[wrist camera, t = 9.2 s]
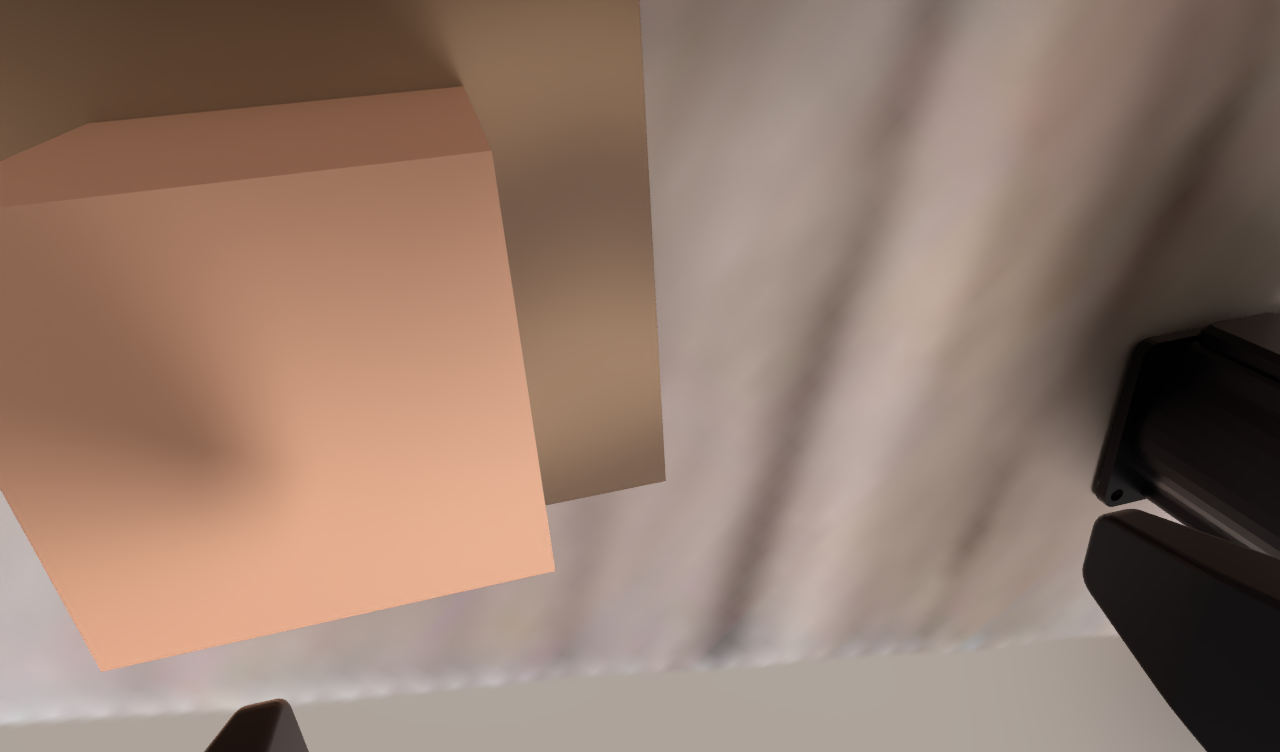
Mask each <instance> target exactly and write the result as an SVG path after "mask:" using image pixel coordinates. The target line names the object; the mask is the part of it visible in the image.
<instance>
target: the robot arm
mask: <svg viewBox="0 0 1280 752" xmlns="http://www.w3.org/2000/svg"><path fill="white" fill-rule="evenodd" d="M1096 496H1097V498H1098V499H1099V500H1100V501H1101V502H1103V503H1104V504H1105V505H1107V506H1109V507H1114V506H1118V505H1122V504H1126V503H1131V502H1135V501H1139V500H1143V499H1148V500H1149V501H1151V502H1152V503H1154V504H1155V505H1157V506H1158V507H1159V508H1161V509H1162V510H1164V511H1165V512H1166V513H1168V514H1169V515H1171V516H1172V517H1174V518H1175V519H1176V520H1178V521H1179V522H1181V523H1182V524H1183V525H1181V524H1178V523H1175V522H1172V521H1170V520H1167V519H1164V518H1161V517H1158V516H1155V515H1152V514H1149V513H1147V512H1144V511H1141V510H1137V509H1125V510H1121V511H1116V512H1112V513H1107V514H1103V515H1101V516H1099V518H1098V519H1097V520H1096V521H1095V523H1094V525H1093V529H1092V532H1091V536H1090V540H1089V544H1088V548H1087V552H1086V556H1085V560H1084V564H1083V569H1082V571H1083V578H1084V582H1085V584H1086V587H1087V589H1088V590H1089V592H1090V593H1091V595H1092V596H1093V598H1094V599H1095V601H1096V602H1097V604H1098V605H1099V606H1100V608H1101V609H1102V611H1103V612H1104V614H1105V615H1106V616H1107V618H1108V619H1109V621H1110V622H1111V624H1112V625H1113V627H1114V628H1115V629H1116V631H1117V632H1118V634H1119V635H1120V637H1121V638H1122V639H1123V641H1124V642H1125V644H1126V645H1127V647H1128V648H1129V649H1130V651H1131V652H1132V654H1133V655H1134V656H1135V658H1136V660H1137V661H1138V662H1139V664H1140V665H1141V667H1142V668H1143V670H1144V671H1145V673H1146V674H1147V675H1148V677H1149V678H1150V679H1151V681H1152V683H1153V684H1154V685H1155V687H1156V688H1157V690H1158V691H1159V692H1160V694H1161V695H1162V696H1163V698H1164V699H1165V700H1166V702H1167V703H1168V705H1169V706H1170V707H1171V709H1172V710H1173V711H1174V712H1175V714H1176V715H1177V716H1178V717H1179V719H1180V720H1181V721H1182V722H1183V723H1184V725H1185V726H1186V727H1187V729H1188V730H1189V731H1190V732H1191V733H1192V734H1193V736H1194V737H1195V738H1196V739H1197V740H1198V742H1199V743H1200V744H1201V745H1202V746H1203V748H1204V749H1205V750H1206V751H1207V752H1280V313H1276V314H1272V313H1264V314H1259V315H1254V316H1248V317H1243V318H1238V319H1233V320H1227V321H1222V322H1217V323H1212V324H1209V325H1207V326H1205V327H1203V328H1198V329H1192V330H1187V331H1182V332H1177V333H1172V334H1166V335H1161V336H1156V337H1151V338H1147V339H1144V340H1143V341H1141V342H1140V343H1139V344H1138V345H1137V346H1136V348H1135V349H1134V351H1133V354H1132V357H1131V361H1130V365H1129V369H1128V372H1127V376H1126V380H1125V384H1124V388H1123V392H1122V395H1121V399H1120V403H1119V407H1118V411H1117V415H1116V418H1115V422H1114V426H1113V430H1112V434H1111V438H1110V441H1109V445H1108V449H1107V453H1106V457H1105V461H1104V464H1103V468H1102V472H1101V476H1100V480H1099V484H1098V487H1097V491H1096ZM1184 525H1185V526H1184ZM204 752H309V751H308V749H307V746H306V743H305V741H304V739H303V736H302V733H301V731H300V728H299V726H298V723H297V720H296V718H295V715H294V713H293V710H292V708H291V706H290V704H289V703H288V702H287V701H286V700H284V699H274V700H270V701H265V702H261V703H256V704H252V705H247V706H244V707H242V708H240V709H239V710H238V711H237V712H236V713H235V714H234V715H233V716H232V717H231V718H230V720H229V721H228V722H227V723H226V725H225V726H224V727H223V728H222V730H221V731H220V732H219V734H218V735H217V736H216V738H215V739H214V740H213V741H212V743H211V744H210V745H209V746H208V748H207V749H206V750H205V751H204Z"/></svg>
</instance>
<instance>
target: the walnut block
mask: <svg viewBox="0 0 1280 752" xmlns="http://www.w3.org/2000/svg"><path fill="white" fill-rule="evenodd" d="M459 86H464V88H465V91H466V93H467V95H468V97H469V100H470V102H471V104H472V107H473V109H474V111H475V113H476V116H477V118H478V120H479V123H480V125H481V127H482V129H483V132H484V134H485V136H486V139H487V141H488V143H489V146H490V148H491V150H492V156H493V162H494V169H495V175H496V182H497V189H498V195H499V202H500V208H501V215H502V222H503V228H504V235H505V242H506V248H507V255H508V261H509V268H510V275H511V281H512V288H513V294H514V301H515V308H516V314H517V321H518V328H519V334H520V341H521V347H522V354H523V361H524V367H525V374H526V381H527V387H528V394H529V400H530V407H531V414H532V420H533V427H534V433H535V440H536V447H537V453H538V460H539V467H540V473H541V480H542V486H543V493H544V500H545V505H550V504H554V503H559V502H564V501H569V500H574V499H579V498H584V497H589V496H594V495H599V494H604V493H609V492H613V491H618V490H623V489H628V488H633V487H638V486H643V485H648V484H653V483H658V482H663V481H666V478H665V460H664V442H663V424H662V406H661V388H660V370H659V351H658V333H657V315H656V297H655V279H654V261H653V243H652V224H651V206H650V188H649V170H648V152H647V134H646V116H645V98H644V79H643V61H642V43H641V25H640V7H639V0H0V161H2V160H4V159H7V158H9V157H11V156H14V155H16V154H18V153H20V152H23V151H25V150H27V149H30V148H32V147H34V146H37V145H39V144H41V143H44V142H46V141H48V140H50V139H53V138H55V137H57V136H60V135H62V134H64V133H67V132H69V131H71V130H74V129H76V128H78V127H80V126H83V125H85V124H87V123H97V122H107V121H117V120H127V119H137V118H147V117H157V116H168V115H178V114H188V113H198V112H208V111H218V110H228V109H238V108H248V107H258V106H268V105H278V104H288V103H298V102H308V101H318V100H329V99H339V98H349V97H359V96H369V95H379V94H389V93H399V92H409V91H419V90H429V89H439V88H449V87H459Z"/></svg>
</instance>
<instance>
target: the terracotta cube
mask: <svg viewBox="0 0 1280 752" xmlns="http://www.w3.org/2000/svg"><path fill="white" fill-rule="evenodd" d="M0 489H1V491H2V493H3V495H4V497H5V498H6V500H7V502H8V504H9V506H10V507H11V509H12V511H13V513H14V515H15V516H16V518H17V520H18V522H19V524H20V525H21V527H22V529H23V531H24V533H25V534H26V536H27V538H28V540H29V542H30V543H31V545H32V547H33V549H34V551H35V552H36V554H37V556H38V558H39V560H40V562H41V563H42V565H43V567H44V569H45V571H46V572H47V574H48V576H49V578H50V580H51V581H52V583H53V585H54V587H55V589H56V590H57V592H58V594H59V596H60V598H61V599H62V601H63V603H64V605H65V607H66V608H67V610H68V612H69V614H70V616H71V618H72V619H73V621H74V623H75V625H76V627H77V628H78V630H79V632H80V634H81V636H82V637H83V639H84V641H85V643H86V645H87V646H88V648H89V650H90V652H91V654H92V655H93V657H94V659H95V661H96V663H97V664H98V666H99V668H100V670H101V672H102V671H107V670H111V669H116V668H120V667H125V666H129V665H134V664H138V663H143V662H147V661H152V660H156V659H161V658H165V657H170V656H174V655H179V654H183V653H188V652H192V651H197V650H201V649H206V648H210V647H215V646H219V645H224V644H228V643H233V642H237V641H242V640H246V639H251V638H255V637H260V636H265V635H269V634H274V633H278V632H283V631H287V630H292V629H296V628H301V627H305V626H310V625H314V624H319V623H323V622H328V621H332V620H337V619H341V618H346V617H350V616H355V615H359V614H364V613H368V612H373V611H377V610H382V609H386V608H391V607H395V606H400V605H404V604H409V603H413V602H418V601H422V600H427V599H431V598H436V597H440V596H445V595H449V594H454V593H458V592H463V591H467V590H472V589H476V588H481V587H485V586H490V585H494V584H499V583H503V582H508V581H512V580H517V579H521V578H526V577H530V576H535V575H539V574H544V573H548V572H553V571H555V566H554V559H553V553H552V546H551V539H550V533H549V526H548V519H547V513H546V506H545V500H544V493H543V486H542V480H541V473H540V467H539V460H538V453H537V447H536V440H535V433H534V427H533V420H532V414H531V407H530V400H529V394H528V387H527V381H526V374H525V367H524V361H523V354H522V347H521V341H520V334H519V328H518V321H517V314H516V308H515V301H514V294H513V288H512V281H511V275H510V268H509V261H508V255H507V248H506V242H505V235H504V228H503V222H502V215H501V208H500V202H499V195H498V189H497V182H496V175H495V169H494V162H493V156H492V150H491V148H490V146H489V143H488V141H487V139H486V136H485V134H484V132H483V129H482V127H481V125H480V123H479V120H478V118H477V116H476V113H475V111H474V109H473V107H472V104H471V102H470V100H469V97H468V95H467V93H466V91H465V88H464V86H459V87H449V88H439V89H429V90H419V91H409V92H399V93H389V94H379V95H369V96H359V97H349V98H339V99H329V100H318V101H308V102H298V103H288V104H278V105H268V106H258V107H248V108H238V109H228V110H218V111H208V112H198V113H188V114H178V115H168V116H157V117H147V118H137V119H127V120H117V121H107V122H97V123H87V124H85V125H83V126H80V127H78V128H76V129H74V130H71V131H69V132H67V133H64V134H62V135H60V136H57V137H55V138H53V139H50V140H48V141H46V142H44V143H41V144H39V145H37V146H34V147H32V148H30V149H27V150H25V151H23V152H20V153H18V154H16V155H14V156H11V157H9V158H7V159H4V160H2V161H0Z"/></svg>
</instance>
